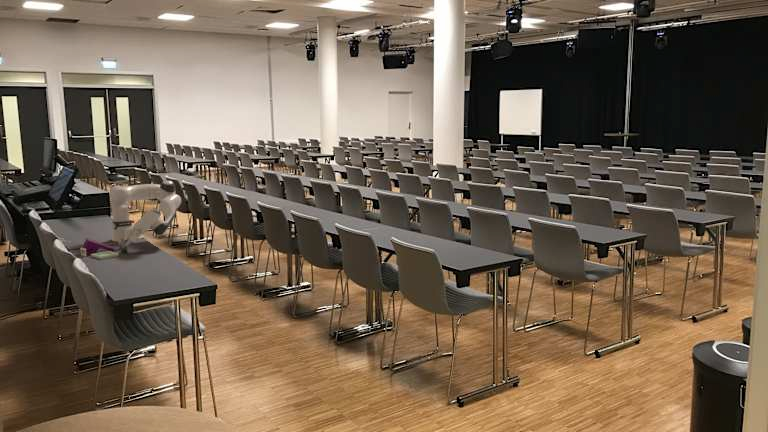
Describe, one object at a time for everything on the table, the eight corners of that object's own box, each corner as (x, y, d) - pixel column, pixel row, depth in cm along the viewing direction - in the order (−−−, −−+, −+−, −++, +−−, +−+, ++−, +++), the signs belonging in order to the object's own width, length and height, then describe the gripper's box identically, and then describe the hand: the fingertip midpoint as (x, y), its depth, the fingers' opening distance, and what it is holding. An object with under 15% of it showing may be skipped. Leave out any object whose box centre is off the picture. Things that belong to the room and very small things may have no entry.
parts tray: (108, 253, 417) (108, 250, 417) (118, 256, 410) (118, 253, 410) (90, 256, 408) (90, 254, 408) (100, 259, 401) (100, 256, 400)
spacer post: (125, 251, 423) (125, 238, 422) (128, 252, 421) (128, 239, 419) (119, 252, 420) (119, 238, 419) (122, 253, 418) (122, 239, 416)
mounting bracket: (108, 258, 429) (81, 250, 420) (113, 247, 430) (86, 238, 420) (110, 261, 421) (82, 252, 412) (115, 249, 422) (88, 240, 412)
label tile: (81, 255, 413) (81, 247, 412) (86, 256, 409) (86, 248, 408) (80, 255, 412) (80, 247, 412) (85, 256, 409) (85, 248, 408)
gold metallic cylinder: (124, 247, 436) (123, 237, 434) (127, 248, 433) (127, 238, 432) (117, 248, 432) (117, 238, 431) (121, 249, 429) (120, 239, 428)
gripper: (144, 234, 414) (129, 250, 411) (143, 228, 432) (128, 244, 430) (137, 227, 411) (121, 243, 409) (135, 222, 430) (121, 238, 428)
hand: (125, 244), depth 420 cm, fingers open, 8 cm apart
